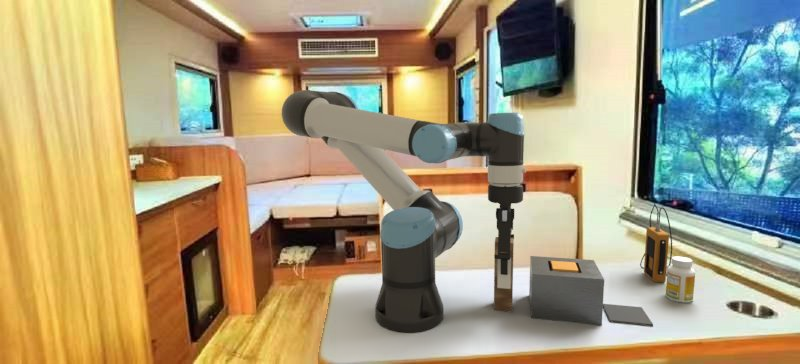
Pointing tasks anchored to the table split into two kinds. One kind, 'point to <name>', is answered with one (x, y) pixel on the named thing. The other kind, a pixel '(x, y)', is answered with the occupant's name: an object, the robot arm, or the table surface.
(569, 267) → the button
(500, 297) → the brown rectangular block
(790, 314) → the table surface
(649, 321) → the rest mat
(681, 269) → the supplement bottle
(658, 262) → the multimeter
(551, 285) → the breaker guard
